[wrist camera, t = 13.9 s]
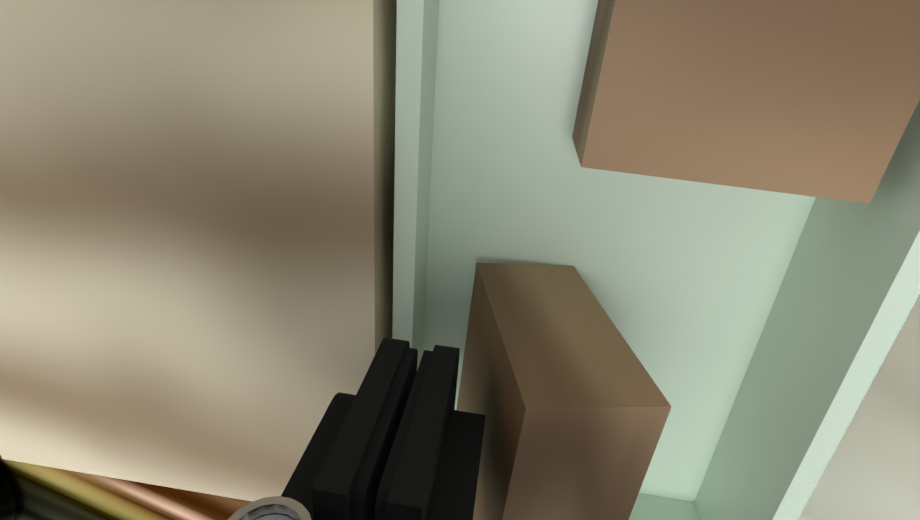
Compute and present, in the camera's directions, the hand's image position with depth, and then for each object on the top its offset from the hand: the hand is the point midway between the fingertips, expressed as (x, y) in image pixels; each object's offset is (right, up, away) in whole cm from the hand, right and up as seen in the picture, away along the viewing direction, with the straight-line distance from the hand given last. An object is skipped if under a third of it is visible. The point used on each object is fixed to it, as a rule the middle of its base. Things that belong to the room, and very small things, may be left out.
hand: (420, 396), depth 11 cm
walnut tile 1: (+6, +7, -3) cm, 9 cm away
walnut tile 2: (+1, 0, 0) cm, 1 cm away
